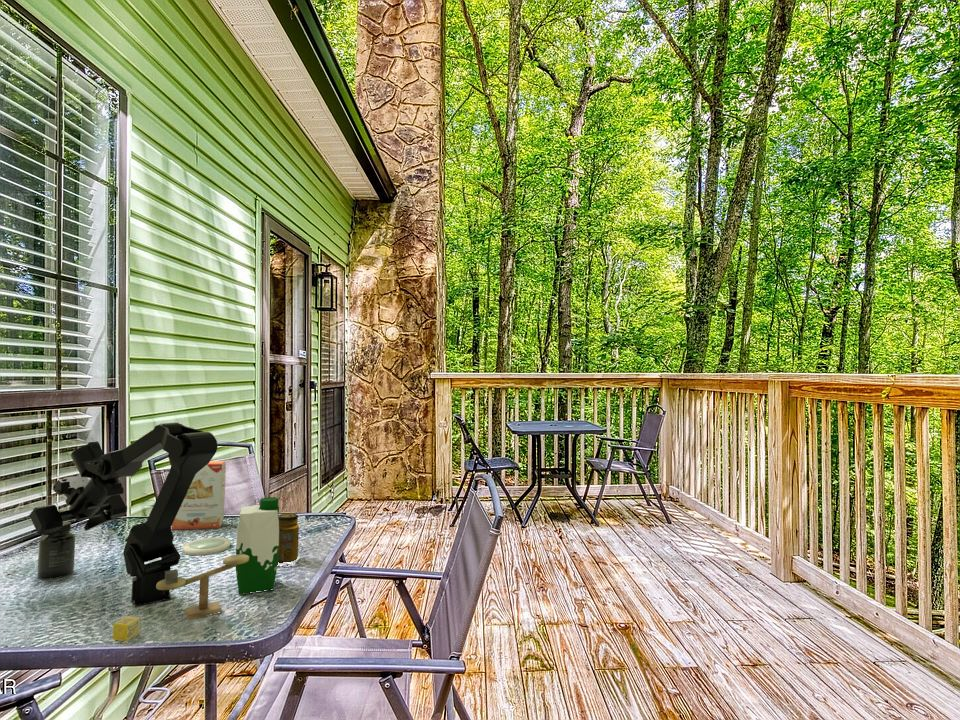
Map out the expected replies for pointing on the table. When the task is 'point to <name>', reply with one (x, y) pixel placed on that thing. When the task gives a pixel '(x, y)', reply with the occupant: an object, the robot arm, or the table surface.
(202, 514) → the cracker box
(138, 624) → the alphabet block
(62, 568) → the supplement bottle
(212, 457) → the robot arm
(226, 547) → the dish
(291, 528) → the condiment
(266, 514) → the milk carton
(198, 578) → the balance
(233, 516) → the table surface
